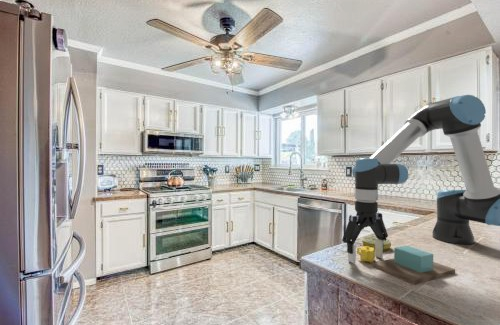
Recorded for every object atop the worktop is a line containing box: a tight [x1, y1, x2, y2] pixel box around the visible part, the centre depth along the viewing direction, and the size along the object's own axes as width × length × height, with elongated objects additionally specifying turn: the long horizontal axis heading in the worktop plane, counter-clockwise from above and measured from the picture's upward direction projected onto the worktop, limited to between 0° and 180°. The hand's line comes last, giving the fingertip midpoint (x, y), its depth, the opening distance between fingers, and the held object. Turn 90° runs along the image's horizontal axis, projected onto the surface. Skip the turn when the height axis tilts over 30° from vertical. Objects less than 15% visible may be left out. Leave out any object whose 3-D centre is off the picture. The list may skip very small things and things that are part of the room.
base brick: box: [393, 245, 434, 273], centre depth 84 cm, size 6×9×5 cm, turn 23°
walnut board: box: [372, 257, 456, 285], centre depth 84 cm, size 20×14×1 cm
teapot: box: [356, 245, 376, 264], centre depth 91 cm, size 8×6×5 cm
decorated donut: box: [361, 235, 392, 252], centre depth 106 cm, size 10×11×4 cm
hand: (365, 259), depth 91 cm, fingers open, 13 cm apart
